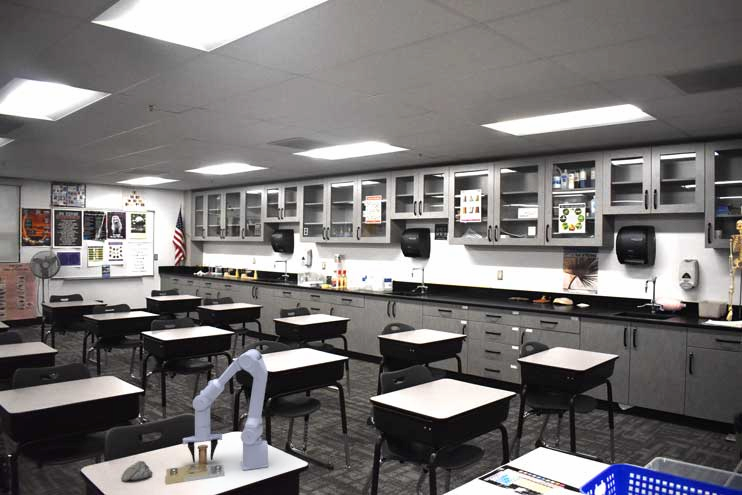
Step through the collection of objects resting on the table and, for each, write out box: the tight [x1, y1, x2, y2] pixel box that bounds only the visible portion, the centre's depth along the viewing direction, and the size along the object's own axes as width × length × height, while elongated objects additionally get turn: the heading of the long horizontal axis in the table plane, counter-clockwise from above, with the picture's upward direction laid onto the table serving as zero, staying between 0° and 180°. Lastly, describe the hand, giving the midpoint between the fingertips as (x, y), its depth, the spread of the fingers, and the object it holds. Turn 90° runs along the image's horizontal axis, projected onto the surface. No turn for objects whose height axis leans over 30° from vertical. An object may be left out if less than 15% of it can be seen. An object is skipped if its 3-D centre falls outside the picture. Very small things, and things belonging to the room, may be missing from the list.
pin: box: [197, 444, 209, 466], centre depth 206 cm, size 4×4×7 cm
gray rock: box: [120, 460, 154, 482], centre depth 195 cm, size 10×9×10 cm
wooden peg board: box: [165, 464, 225, 485], centre depth 195 cm, size 20×8×3 cm, turn 110°
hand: (202, 460), depth 206 cm, fingers open, 6 cm apart
